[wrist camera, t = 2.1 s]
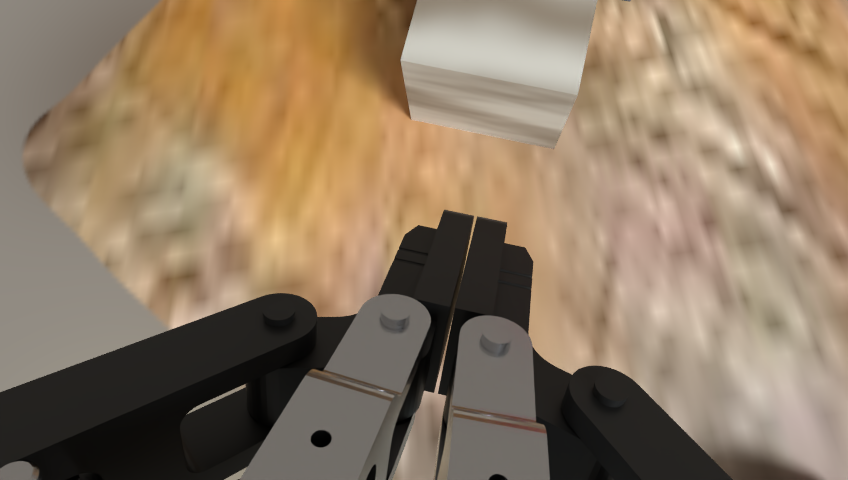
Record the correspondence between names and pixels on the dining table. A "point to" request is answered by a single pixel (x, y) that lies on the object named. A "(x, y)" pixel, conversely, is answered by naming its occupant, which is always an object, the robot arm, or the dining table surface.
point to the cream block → (497, 65)
